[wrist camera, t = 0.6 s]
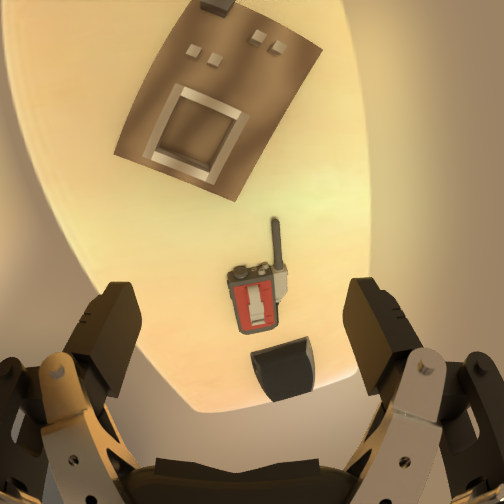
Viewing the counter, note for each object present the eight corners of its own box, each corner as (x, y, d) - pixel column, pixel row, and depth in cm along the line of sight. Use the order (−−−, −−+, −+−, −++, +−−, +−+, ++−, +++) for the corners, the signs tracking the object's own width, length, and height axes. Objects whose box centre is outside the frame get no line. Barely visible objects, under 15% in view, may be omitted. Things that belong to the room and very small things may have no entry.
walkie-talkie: (286, 317, 48) (280, 214, 37) (293, 335, 44) (289, 228, 33) (237, 327, 47) (215, 225, 36) (241, 346, 44) (217, 242, 33)
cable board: (116, 152, 29) (103, 161, 25) (199, -8, 20) (199, -22, 16) (234, 198, 35) (238, 213, 31) (319, 51, 26) (336, 45, 22)
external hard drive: (310, 333, 52) (317, 348, 48) (314, 378, 63) (319, 391, 59) (246, 351, 52) (249, 368, 48) (264, 393, 62) (267, 407, 59)
